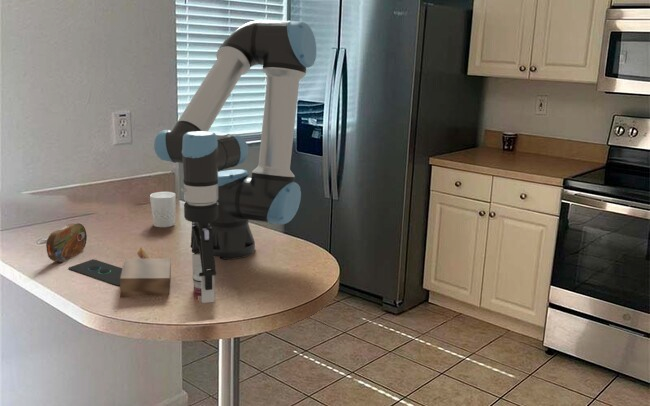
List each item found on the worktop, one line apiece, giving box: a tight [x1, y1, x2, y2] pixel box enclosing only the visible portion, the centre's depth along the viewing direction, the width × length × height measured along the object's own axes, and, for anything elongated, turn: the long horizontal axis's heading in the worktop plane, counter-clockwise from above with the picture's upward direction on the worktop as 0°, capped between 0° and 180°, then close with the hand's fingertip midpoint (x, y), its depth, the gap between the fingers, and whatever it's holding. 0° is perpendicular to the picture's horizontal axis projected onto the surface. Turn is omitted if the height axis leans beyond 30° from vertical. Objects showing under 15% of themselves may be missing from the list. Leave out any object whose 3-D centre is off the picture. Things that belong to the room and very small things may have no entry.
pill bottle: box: [192, 264, 216, 303], centre depth 141 cm, size 5×5×8 cm
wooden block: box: [119, 258, 172, 298], centre depth 147 cm, size 11×11×5 cm
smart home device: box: [68, 259, 123, 287], centre depth 156 cm, size 8×2×20 cm
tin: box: [45, 222, 88, 263], centre depth 167 cm, size 15×3×8 cm, turn 168°
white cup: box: [149, 191, 176, 228], centre depth 196 cm, size 8×8×10 cm
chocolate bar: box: [137, 247, 150, 259], centre depth 167 cm, size 3×12×2 cm, turn 28°
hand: (203, 290), depth 141 cm, fingers open, 13 cm apart
